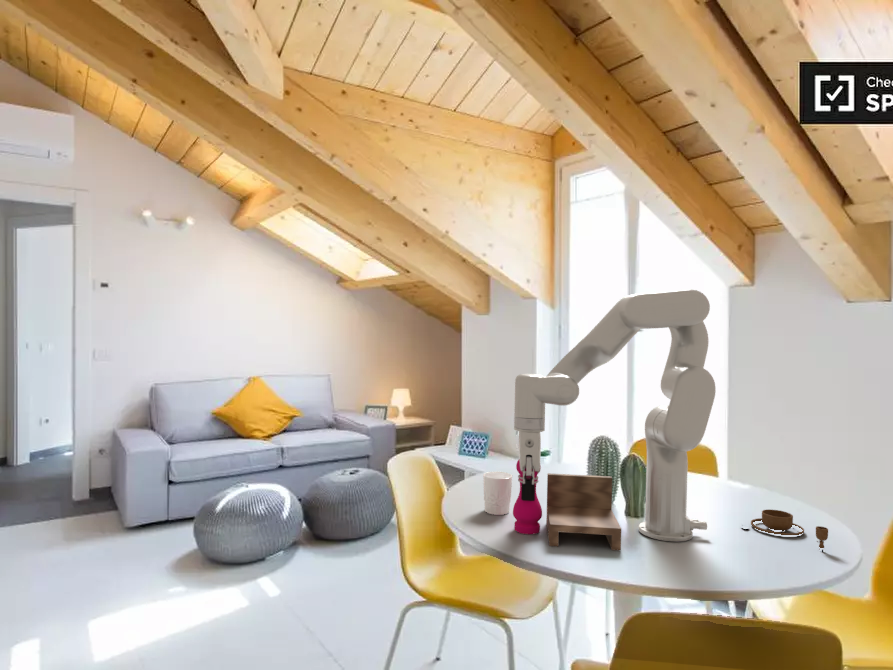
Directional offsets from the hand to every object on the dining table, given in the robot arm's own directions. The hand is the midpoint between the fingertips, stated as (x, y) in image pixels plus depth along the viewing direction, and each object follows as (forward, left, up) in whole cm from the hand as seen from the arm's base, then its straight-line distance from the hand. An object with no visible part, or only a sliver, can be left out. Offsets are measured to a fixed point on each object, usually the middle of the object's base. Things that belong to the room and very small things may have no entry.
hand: (527, 496), depth 147 cm
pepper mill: (0, 0, -9) cm, 9 cm away
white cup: (+8, -14, -9) cm, 18 cm away
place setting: (-63, -8, -9) cm, 64 cm away
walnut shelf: (-13, +2, -8) cm, 16 cm away
